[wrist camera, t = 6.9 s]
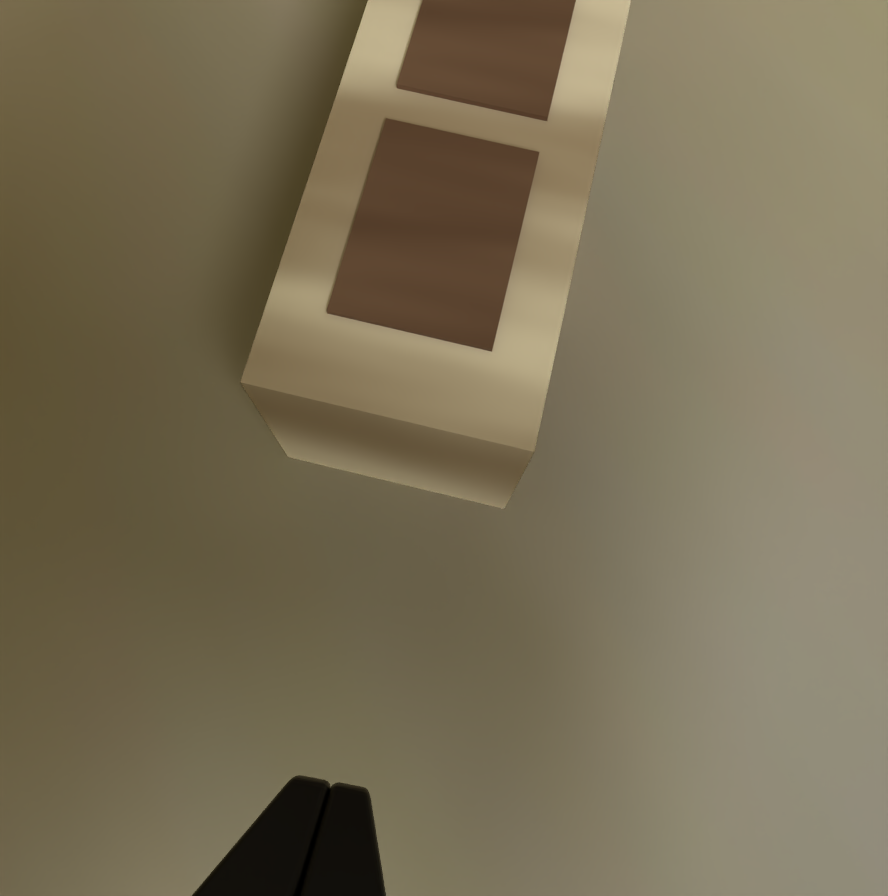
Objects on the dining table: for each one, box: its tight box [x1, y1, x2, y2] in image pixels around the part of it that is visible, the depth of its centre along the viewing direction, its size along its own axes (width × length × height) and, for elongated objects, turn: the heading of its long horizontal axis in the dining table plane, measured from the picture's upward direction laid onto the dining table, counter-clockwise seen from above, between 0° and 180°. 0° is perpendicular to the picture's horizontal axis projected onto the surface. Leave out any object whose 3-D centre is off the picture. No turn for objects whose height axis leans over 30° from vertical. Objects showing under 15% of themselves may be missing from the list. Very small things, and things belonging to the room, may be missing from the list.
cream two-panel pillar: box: [240, 0, 631, 509], centre depth 15 cm, size 5×4×12 cm
